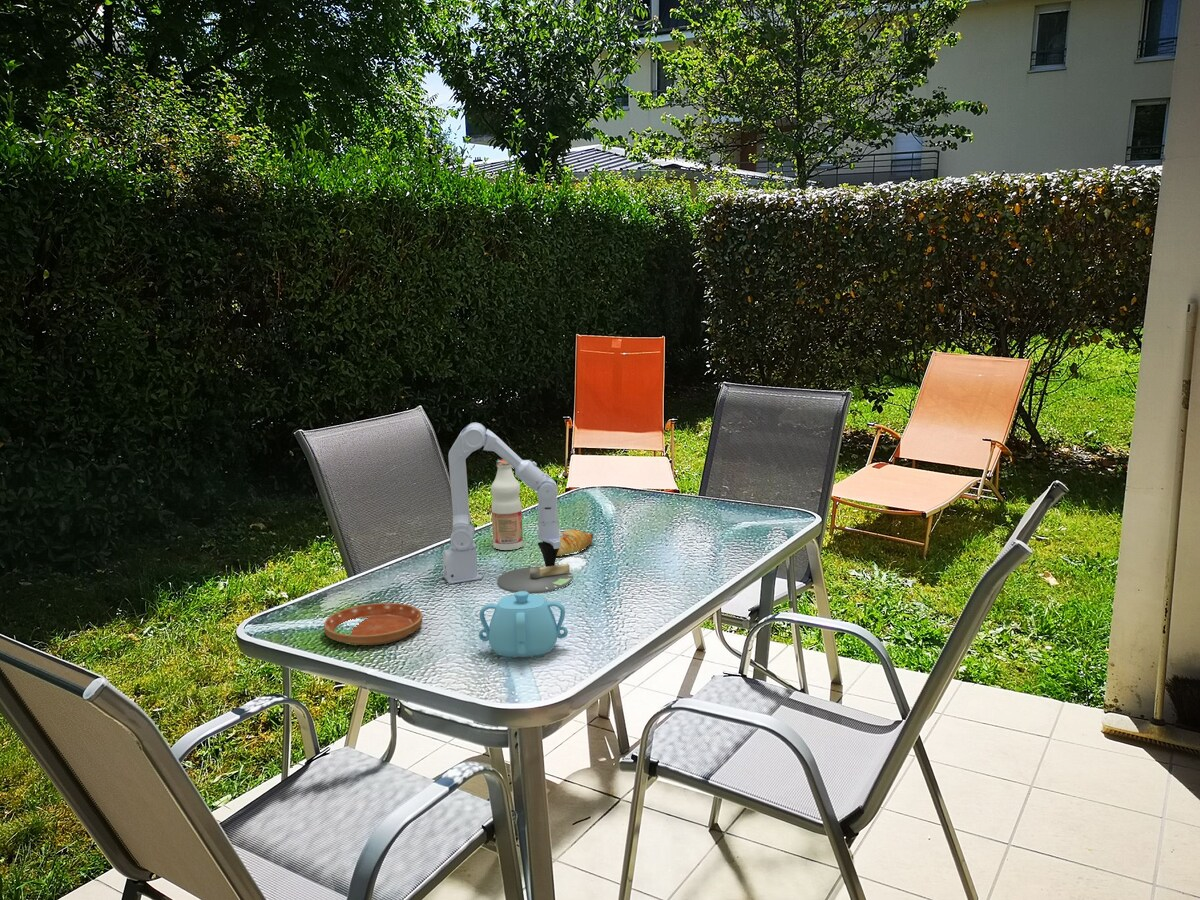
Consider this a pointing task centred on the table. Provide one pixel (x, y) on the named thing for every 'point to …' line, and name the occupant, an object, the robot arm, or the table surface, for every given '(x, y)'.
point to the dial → (532, 581)
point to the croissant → (573, 541)
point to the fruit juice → (506, 509)
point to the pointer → (549, 570)
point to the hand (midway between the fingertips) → (550, 566)
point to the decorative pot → (522, 625)
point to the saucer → (375, 623)
